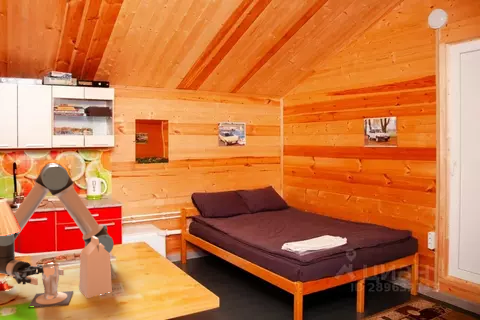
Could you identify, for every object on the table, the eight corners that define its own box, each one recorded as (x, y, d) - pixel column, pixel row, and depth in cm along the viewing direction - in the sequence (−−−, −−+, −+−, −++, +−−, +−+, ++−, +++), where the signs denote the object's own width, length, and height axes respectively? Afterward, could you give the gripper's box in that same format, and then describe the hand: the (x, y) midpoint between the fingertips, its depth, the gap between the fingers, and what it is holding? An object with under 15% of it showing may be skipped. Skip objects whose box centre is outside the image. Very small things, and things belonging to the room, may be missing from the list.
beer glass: (45, 294, 192) (45, 262, 190) (61, 294, 192) (61, 262, 191) (39, 301, 185) (39, 268, 183) (56, 301, 185) (55, 267, 184)
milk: (79, 289, 201) (78, 236, 199) (103, 284, 208) (102, 233, 206) (87, 298, 192) (86, 242, 189) (112, 292, 199) (111, 238, 196)
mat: (73, 292, 197) (73, 290, 197) (68, 305, 184) (68, 302, 184) (36, 295, 194) (36, 292, 194) (28, 308, 180) (28, 305, 180)
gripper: (42, 269, 209) (72, 276, 199) (-7, 285, 187) (25, 294, 177) (42, 254, 208) (72, 261, 199) (-7, 269, 186) (24, 277, 177)
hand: (50, 277), depth 188 cm, fingers open, 13 cm apart
